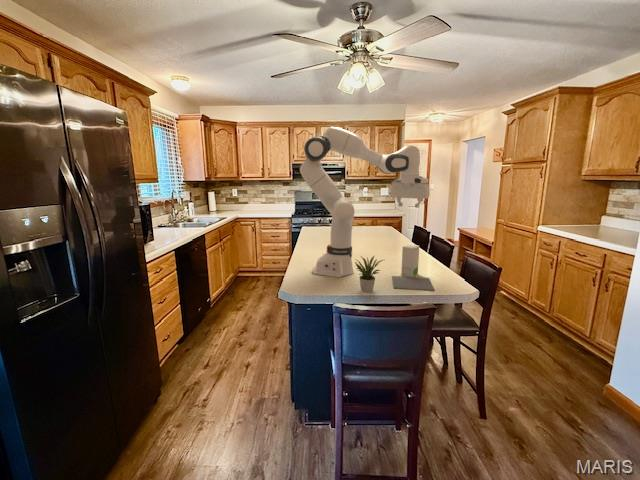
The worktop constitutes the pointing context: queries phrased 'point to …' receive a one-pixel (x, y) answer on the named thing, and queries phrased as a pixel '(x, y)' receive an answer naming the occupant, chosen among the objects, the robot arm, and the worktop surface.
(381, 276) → the worktop surface
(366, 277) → the house plant
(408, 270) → the skincare box
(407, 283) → the mat
